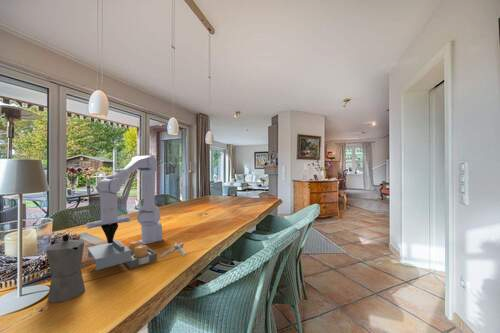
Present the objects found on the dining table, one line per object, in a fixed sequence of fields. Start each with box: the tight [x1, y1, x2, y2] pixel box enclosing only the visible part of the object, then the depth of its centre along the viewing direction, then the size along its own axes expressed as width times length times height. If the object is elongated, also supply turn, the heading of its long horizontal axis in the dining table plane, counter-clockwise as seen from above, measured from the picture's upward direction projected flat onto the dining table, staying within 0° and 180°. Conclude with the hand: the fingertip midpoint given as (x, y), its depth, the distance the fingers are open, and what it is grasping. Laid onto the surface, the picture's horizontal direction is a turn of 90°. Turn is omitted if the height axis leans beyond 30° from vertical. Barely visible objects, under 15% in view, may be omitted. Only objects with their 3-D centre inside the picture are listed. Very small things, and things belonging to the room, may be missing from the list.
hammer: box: [160, 241, 186, 259], centre depth 101 cm, size 10×2×15 cm
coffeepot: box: [45, 234, 86, 304], centre depth 68 cm, size 15×9×18 cm, turn 62°
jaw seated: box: [135, 244, 148, 258], centre depth 89 cm, size 4×4×6 cm
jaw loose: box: [128, 240, 142, 253], centre depth 94 cm, size 4×4×6 cm
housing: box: [123, 246, 158, 270], centre depth 92 cm, size 10×15×3 cm, turn 45°
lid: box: [87, 238, 131, 271], centre depth 85 cm, size 11×16×5 cm
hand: (110, 242), depth 89 cm, fingers closed
